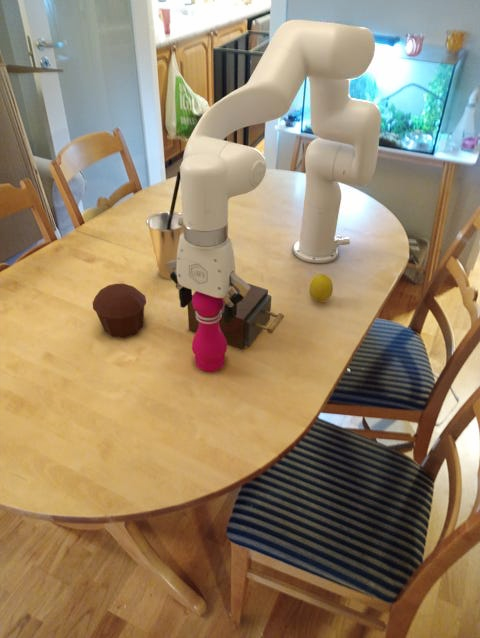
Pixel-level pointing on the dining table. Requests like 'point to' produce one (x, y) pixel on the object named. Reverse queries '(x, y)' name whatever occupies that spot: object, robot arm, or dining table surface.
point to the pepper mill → (208, 333)
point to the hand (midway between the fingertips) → (207, 311)
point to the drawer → (260, 321)
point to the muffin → (120, 309)
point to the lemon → (321, 288)
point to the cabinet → (236, 325)
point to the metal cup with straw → (166, 233)
